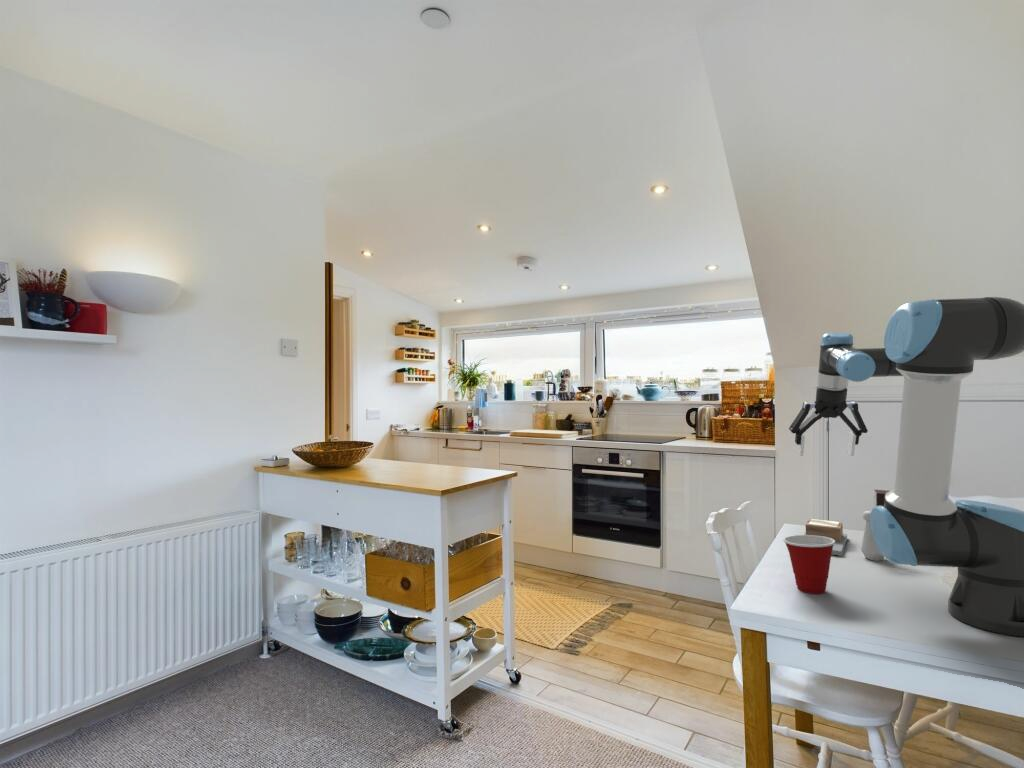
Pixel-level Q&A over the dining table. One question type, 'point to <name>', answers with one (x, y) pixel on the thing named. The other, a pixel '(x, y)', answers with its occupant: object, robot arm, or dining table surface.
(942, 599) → the dining table surface
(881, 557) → the salt shaker
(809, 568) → the plastic cup
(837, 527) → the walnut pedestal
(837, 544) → the build plate
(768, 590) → the dining table surface
